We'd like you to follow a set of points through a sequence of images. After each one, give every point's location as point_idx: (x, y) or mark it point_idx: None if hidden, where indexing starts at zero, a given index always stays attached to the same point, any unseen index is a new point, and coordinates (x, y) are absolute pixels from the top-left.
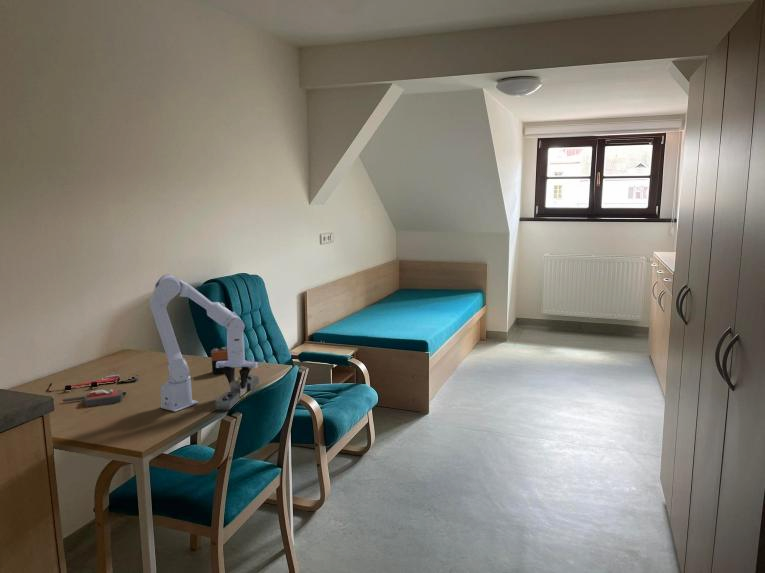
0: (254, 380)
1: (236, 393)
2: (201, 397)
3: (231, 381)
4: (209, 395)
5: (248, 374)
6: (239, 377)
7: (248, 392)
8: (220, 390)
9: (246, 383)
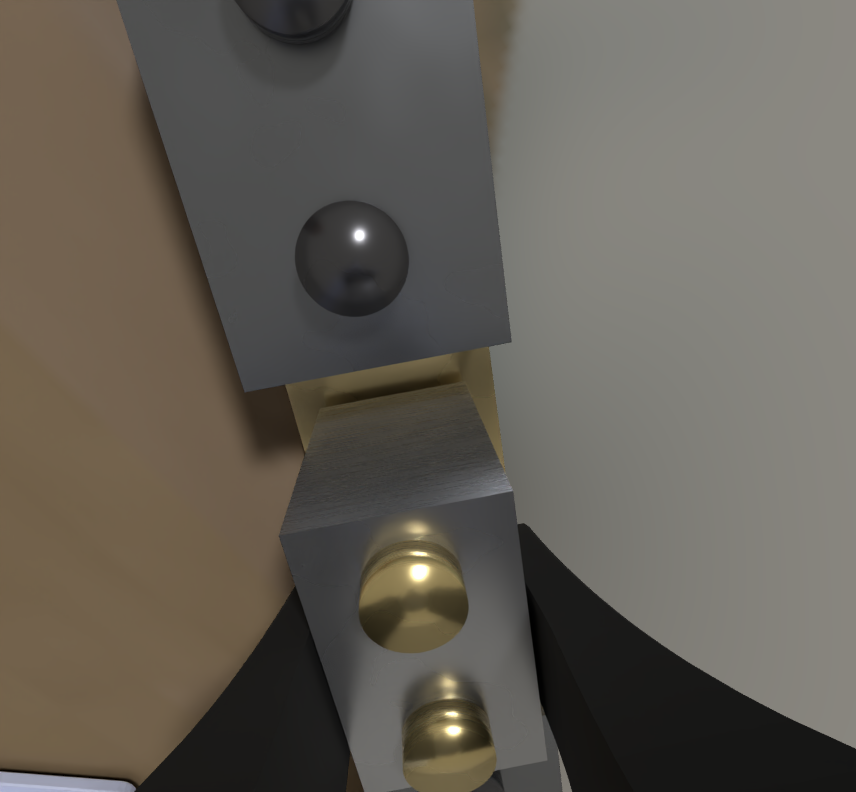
0: (480, 99)
1: None
2: (14, 663)
3: (353, 756)
4: (46, 592)
5: (684, 665)
6: (427, 650)
7: (490, 386)
8: (17, 406)
9: (487, 440)
